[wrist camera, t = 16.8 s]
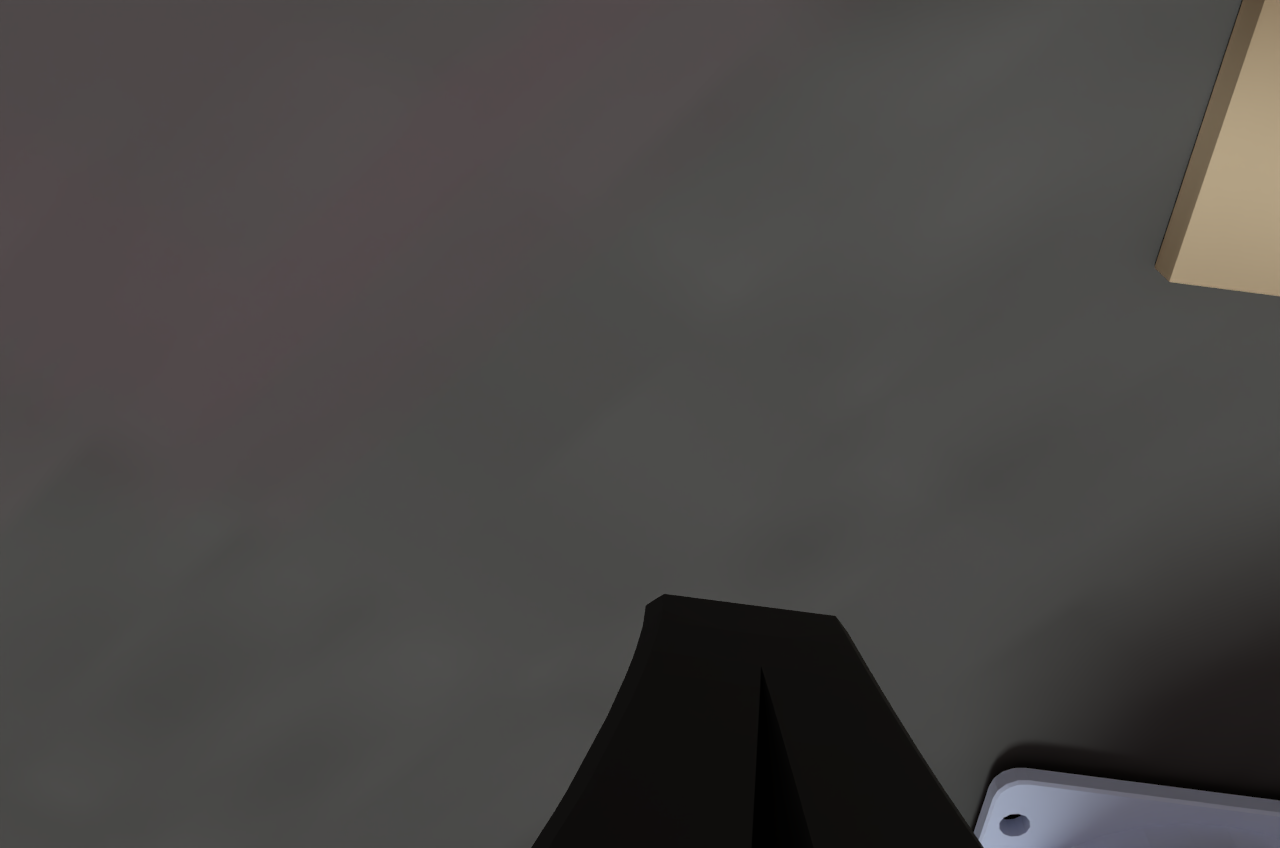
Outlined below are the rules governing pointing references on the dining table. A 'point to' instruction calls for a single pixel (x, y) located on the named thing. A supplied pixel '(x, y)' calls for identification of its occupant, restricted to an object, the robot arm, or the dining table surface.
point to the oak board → (1234, 170)
